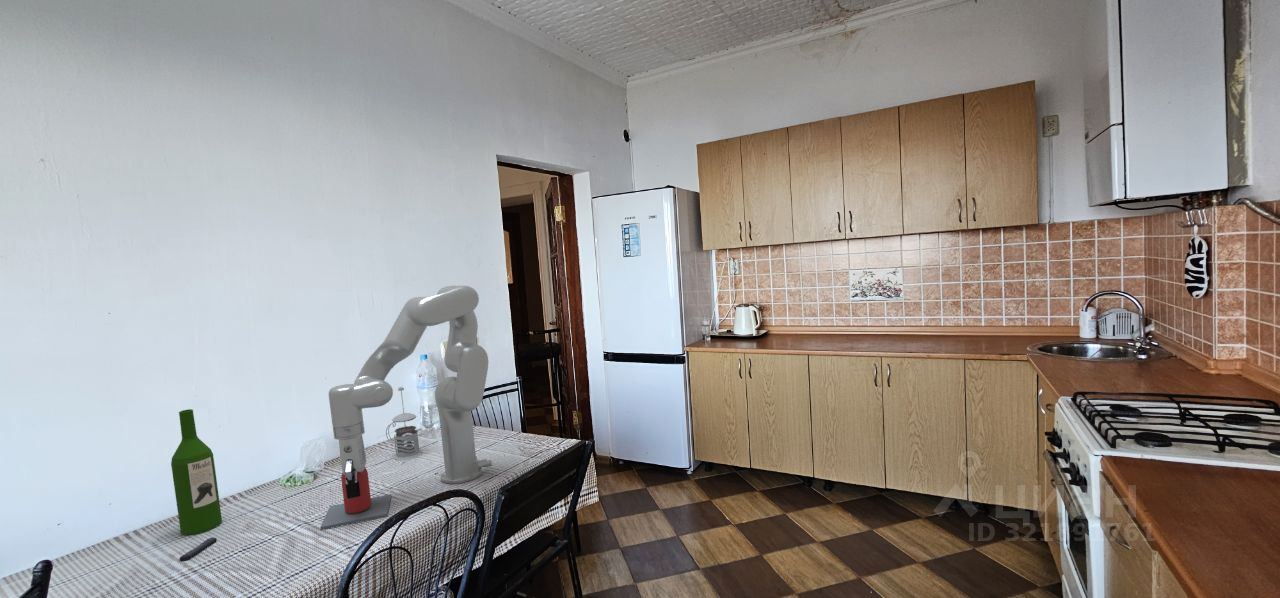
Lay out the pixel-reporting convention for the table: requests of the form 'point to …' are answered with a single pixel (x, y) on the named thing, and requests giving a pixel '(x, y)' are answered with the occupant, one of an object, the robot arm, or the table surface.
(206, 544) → the usb stick
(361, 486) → the beer can
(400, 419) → the french press
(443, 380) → the robot arm
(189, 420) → the wine bottle
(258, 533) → the table surface
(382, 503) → the mat
